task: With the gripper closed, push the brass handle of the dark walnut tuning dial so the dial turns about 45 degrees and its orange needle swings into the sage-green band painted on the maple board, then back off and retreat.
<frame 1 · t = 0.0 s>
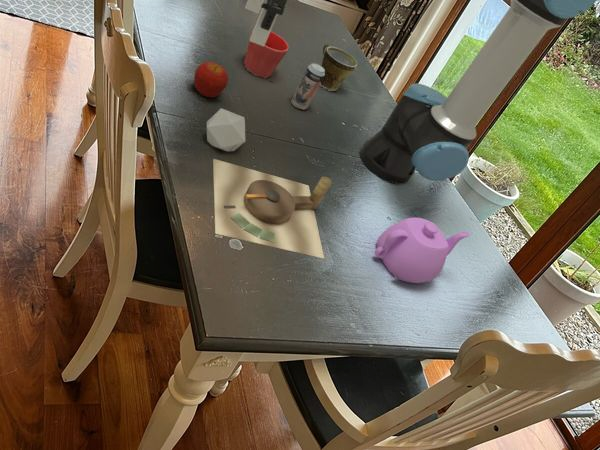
hand: (254, 26, 107), 28 cm above the table, fingers open, 13 cm apart
ceramic cup: (323, 82, 173), on the table
board: (264, 211, 116), on the table
dial: (287, 192, 115), point 5 cm above the table, hinge at 0.0°
die: (219, 146, 126), on the table
beer can: (298, 106, 155), on the table
apple: (205, 93, 139), on the table
teapot: (404, 265, 124), on the table
flower pot: (256, 70, 159), on the table
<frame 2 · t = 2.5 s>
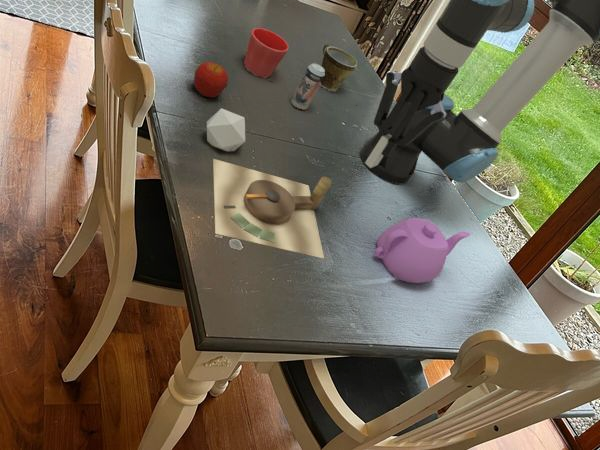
hand: (371, 163, 110), 18 cm above the table, fingers closed
nothing on the table moved.
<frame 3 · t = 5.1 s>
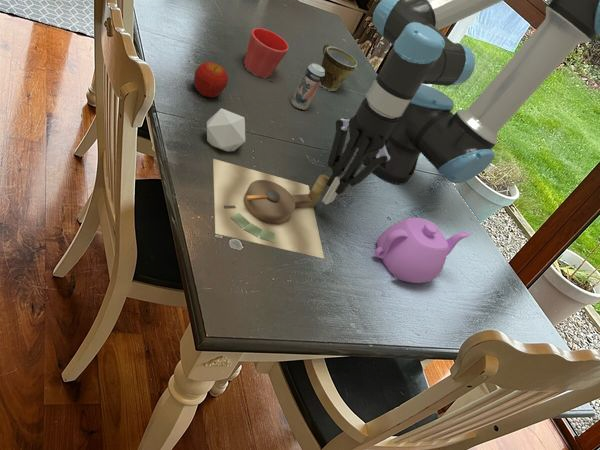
hand: (327, 200, 119), 5 cm above the table, fingers closed
dial: (287, 192, 115), point 5 cm above the table, hinge at 3.5°, touching gripper
everything else where it was.
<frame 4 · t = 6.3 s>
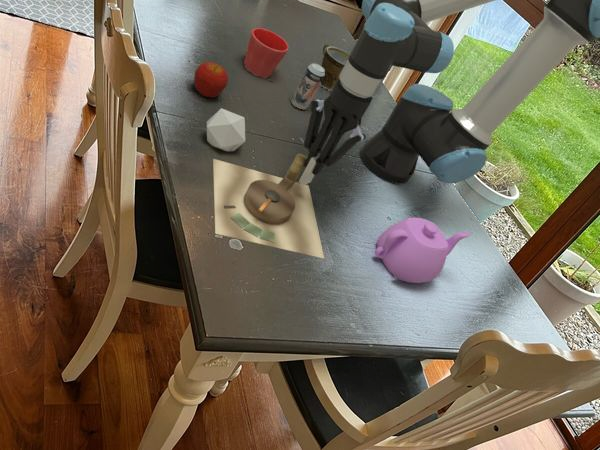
hand: (304, 181, 121), 5 cm above the table, fingers closed
dial: (280, 186, 115), point 5 cm above the table, hinge at 39.3°, touching gripper
everything else where it was.
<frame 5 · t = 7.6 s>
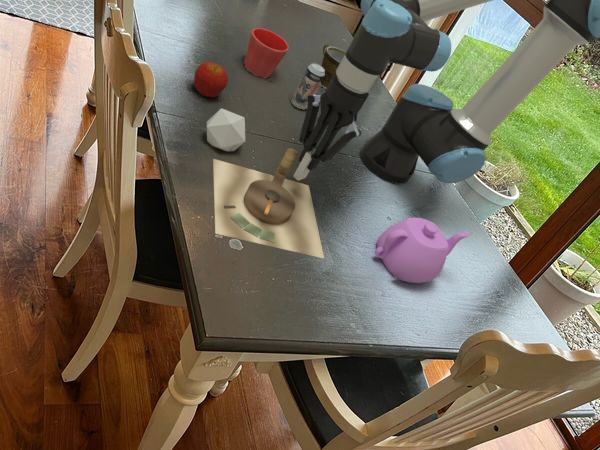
hand: (299, 176, 121), 5 cm above the table, fingers closed
dial: (277, 184, 115), point 5 cm above the table, hinge at 51.0°
everything else where it was.
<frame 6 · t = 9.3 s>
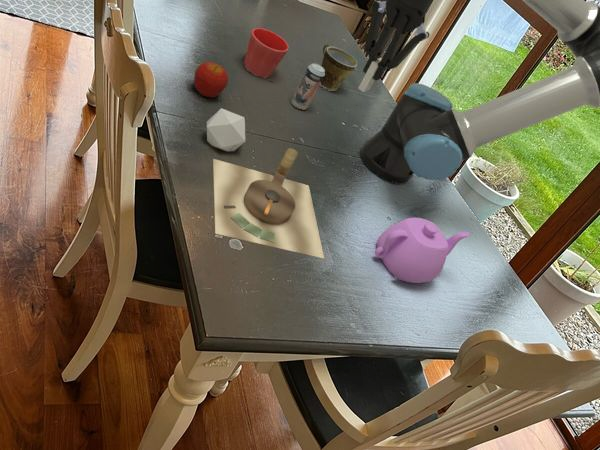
hand: (363, 89, 122), 23 cm above the table, fingers closed
nothing on the table moved.
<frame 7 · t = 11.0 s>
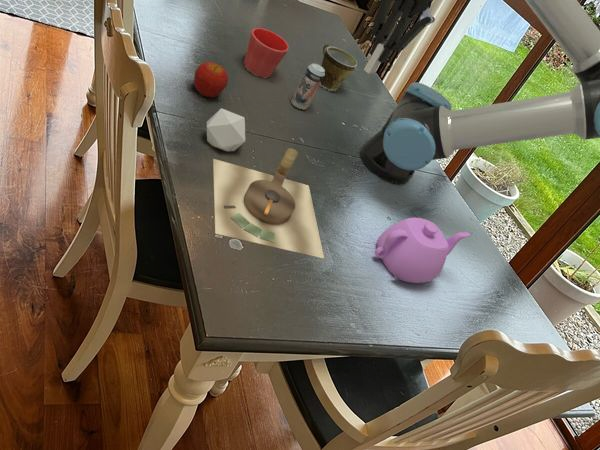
hand: (369, 71, 126), 24 cm above the table, fingers closed
nothing on the table moved.
at the end: dial at +51° (first picture: +0°); dial touching nothing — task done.
